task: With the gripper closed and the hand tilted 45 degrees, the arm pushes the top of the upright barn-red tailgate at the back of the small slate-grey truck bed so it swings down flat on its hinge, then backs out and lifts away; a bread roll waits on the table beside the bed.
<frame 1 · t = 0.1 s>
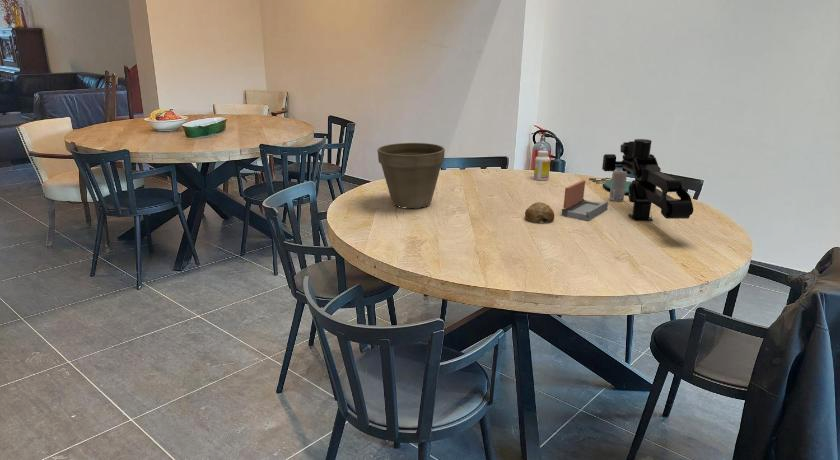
hand: (619, 158, 217), 17 cm above the table, tool horizontal, fingers open, 9 cm apart
supplement bottle: (541, 179, 254), on the table
bread roll: (538, 220, 197), on the table
tailgate: (574, 193, 205), point 6 cm above the table, hinge at 0.0°
plant pot: (410, 204, 213), on the table
sill: (572, 210, 207), on the table
cutlery set: (621, 188, 241), on the table
truck bed: (588, 208, 203), on the table
energy drink: (616, 200, 221), on the table
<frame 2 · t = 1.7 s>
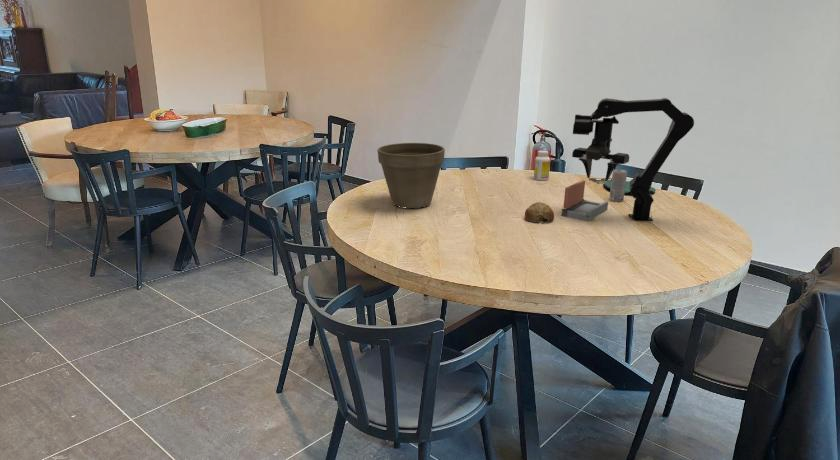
hand: (597, 179, 198), 13 cm above the table, tool pointing down, fingers open, 6 cm apart
nothing on the table moved.
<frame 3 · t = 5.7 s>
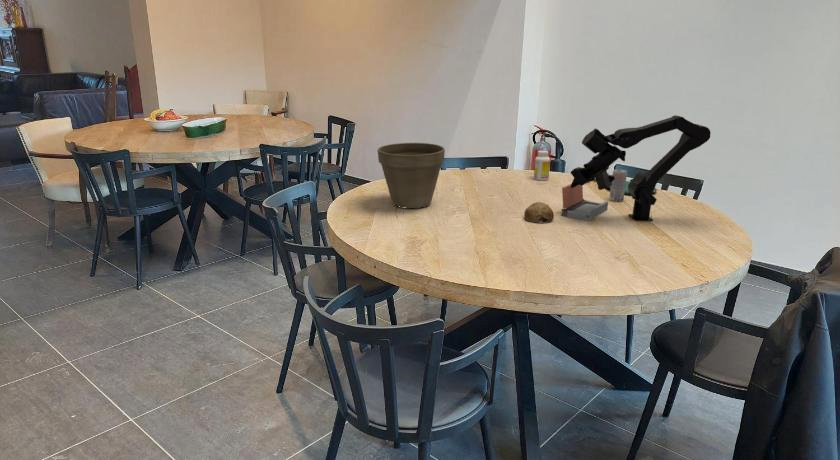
hand: (571, 186, 203), 9 cm above the table, tool tilted 45°, fingers closed, pressing on tailgate
tailgate: (572, 193, 206), point 6 cm above the table, hinge at 8.9°, touching gripper
everything else where it was.
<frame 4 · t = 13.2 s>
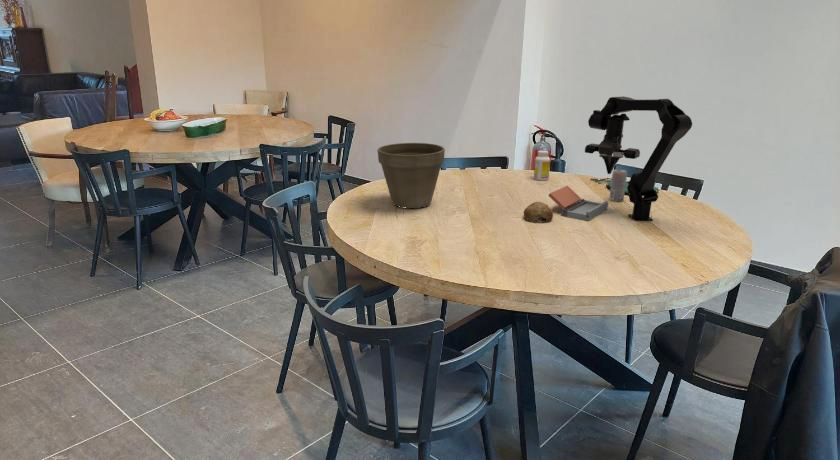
hand: (609, 173, 207), 13 cm above the table, tool pointing down, fingers closed
tailgate: (564, 197, 208), point 4 cm above the table, hinge at 55.8°
at the end: tailgate at +56° (first picture: +0°); bread roll moved 0.9 cm from its start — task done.
